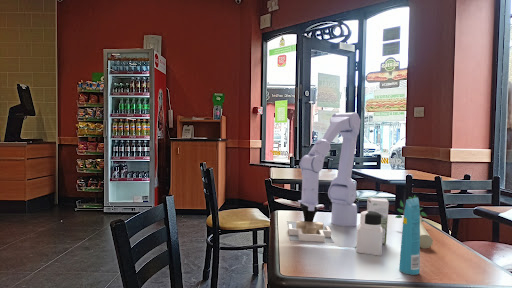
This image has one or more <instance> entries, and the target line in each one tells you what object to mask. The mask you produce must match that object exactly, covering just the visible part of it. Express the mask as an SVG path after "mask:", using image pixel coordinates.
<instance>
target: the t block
mask: <svg viewBox="0 0 512 288" xmlns="http://www.w3.org/2000/svg"><path fill="white" fill-rule="evenodd" d="M295 222H296V229H301V230H302V233H304V234H319V230H323V224H324V223H323V222H322V221H313V222H307V221H303V220H296V221H295Z"/></svg>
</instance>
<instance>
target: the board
mask: <svg viewBox="0 0 512 288" xmlns="http://www.w3.org/2000/svg"><path fill="white" fill-rule="evenodd" d="M286 223H287V227H288V226H289V224H292V228H295V229H296V221H286ZM325 226H326V225H325V224H324V223H323V230H325ZM303 234H304V233H303ZM318 235H319V234H318ZM288 237H289V241H292V242H293V241H294V242H301V241H300V240H299V237H298V235H289V234H288ZM306 242H307V243H309V242H311V243H318V242H317V241H306ZM323 243H324V244H325V243H326V244H335V242H334V240H333V238H332V236H331V237H325V242H323ZM300 244H303V243H300ZM317 245H320V244H317Z"/></svg>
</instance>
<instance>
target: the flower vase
mask: <svg viewBox="0 0 512 288" xmlns="http://www.w3.org/2000/svg"><path fill="white" fill-rule="evenodd" d="M413 198H417V195H416V194H414V196H413V197H412V196H408V199H413ZM399 206H400V207H402V208H404V210H403V209H400V208H397V209H396V210H397V211H398V212H399V213H401V214H403V216H402V215H401V214H397V215H396V216H395V219H403V217H404V211H405V207H404V206H405V205H404V203H403V201H402V199H400V202H399ZM419 208H420V249H428V248H429V249H430V248H431V247H432V245H433V242H434V240H433V238H432V236H431V235H430V234H429V233H428V231H427V230H426V228H425V226H424V225H423V222H424V220H423V217H428V214H426V213H425V212H424V211H422V212H421V210H423V209H424V208H423V207H419Z"/></svg>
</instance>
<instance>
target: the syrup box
mask: <svg viewBox="0 0 512 288" xmlns="http://www.w3.org/2000/svg"><path fill="white" fill-rule="evenodd" d="M366 201H367V203H366V204H367V205H366V211H374V212H378V213H380V214H381V227H382V228H383V235H382V245H386V244H387V234H388V219H389V218H388V217H389V205H390V202H389V200H388V199H387V198H384V197H370V196H369V197H367V200H366Z"/></svg>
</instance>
